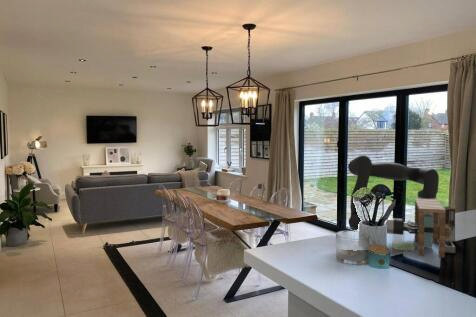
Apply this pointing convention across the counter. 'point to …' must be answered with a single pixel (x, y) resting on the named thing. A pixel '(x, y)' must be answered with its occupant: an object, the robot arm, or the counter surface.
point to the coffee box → (447, 224)
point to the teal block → (426, 235)
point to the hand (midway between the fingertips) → (432, 228)
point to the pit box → (449, 247)
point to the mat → (403, 245)
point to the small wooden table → (436, 208)
